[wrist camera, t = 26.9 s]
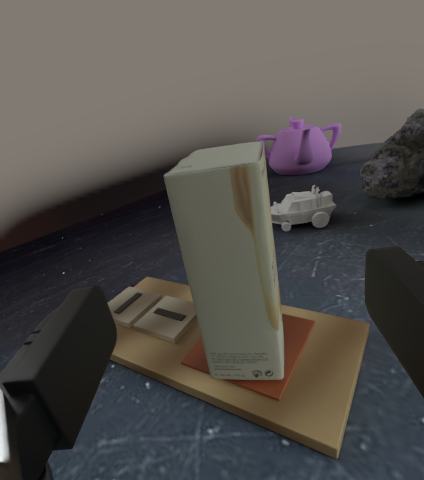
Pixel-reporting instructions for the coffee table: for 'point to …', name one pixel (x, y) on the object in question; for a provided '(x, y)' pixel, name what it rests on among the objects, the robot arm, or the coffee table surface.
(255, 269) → the cosmetic box
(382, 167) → the mineral rock
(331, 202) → the toy car
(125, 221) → the coffee table surface
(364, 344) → the word board
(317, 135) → the teapot
